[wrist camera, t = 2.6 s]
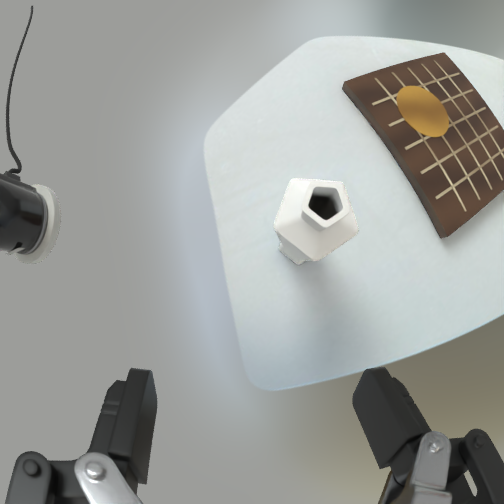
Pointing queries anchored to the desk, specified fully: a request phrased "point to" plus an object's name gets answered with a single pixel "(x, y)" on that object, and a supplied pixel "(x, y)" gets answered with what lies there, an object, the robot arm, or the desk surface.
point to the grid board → (436, 135)
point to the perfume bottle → (314, 219)
